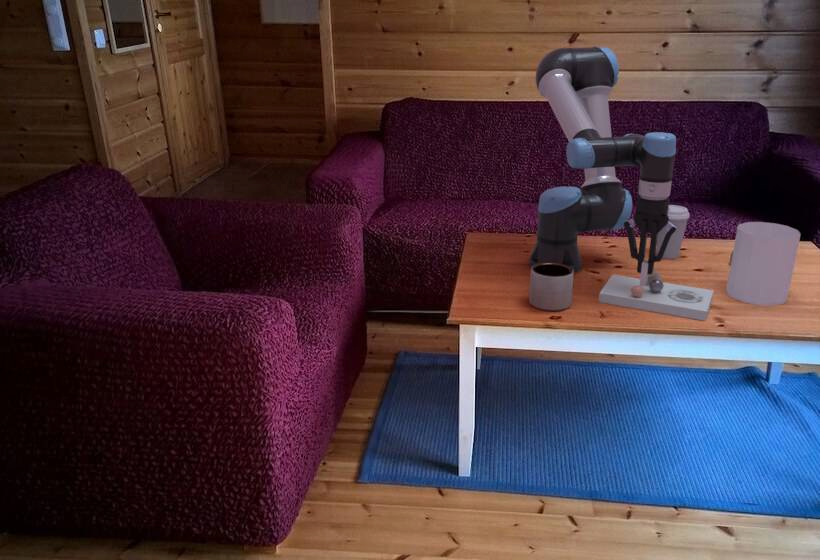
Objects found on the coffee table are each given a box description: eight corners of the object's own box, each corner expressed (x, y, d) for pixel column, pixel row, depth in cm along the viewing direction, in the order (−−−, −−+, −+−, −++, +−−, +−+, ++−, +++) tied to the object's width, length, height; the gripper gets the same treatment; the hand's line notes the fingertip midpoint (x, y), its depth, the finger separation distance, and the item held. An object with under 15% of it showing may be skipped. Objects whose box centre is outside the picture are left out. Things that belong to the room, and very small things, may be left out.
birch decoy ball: (643, 285, 179) (644, 271, 178) (646, 280, 182) (647, 266, 181) (658, 287, 177) (660, 273, 176) (661, 282, 180) (663, 268, 179)
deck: (598, 301, 175) (599, 293, 174) (611, 282, 188) (612, 274, 187) (705, 320, 164) (707, 311, 163) (712, 299, 176) (713, 290, 175)
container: (730, 281, 187) (741, 219, 181) (788, 290, 181) (801, 226, 174) (723, 299, 176) (734, 233, 169) (785, 309, 169) (799, 242, 162)
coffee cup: (656, 248, 214) (662, 202, 208) (687, 253, 209) (694, 207, 203) (647, 256, 207) (652, 209, 201) (678, 262, 202) (685, 214, 196)
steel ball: (662, 283, 171) (659, 295, 172) (666, 279, 174) (663, 291, 175) (649, 279, 173) (646, 292, 174) (652, 275, 175) (649, 287, 177)
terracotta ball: (629, 297, 171) (630, 286, 170) (631, 293, 174) (633, 282, 173) (641, 299, 170) (642, 288, 169) (643, 295, 172) (645, 284, 171)
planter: (562, 315, 168) (565, 279, 164) (522, 306, 173) (524, 272, 170) (577, 300, 177) (580, 266, 173) (538, 292, 182) (540, 259, 178)
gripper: (623, 197, 167) (614, 285, 175) (678, 202, 161) (667, 293, 169) (630, 190, 173) (621, 276, 181) (683, 195, 167) (672, 284, 175)
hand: (643, 284), depth 175 cm, fingers closed
